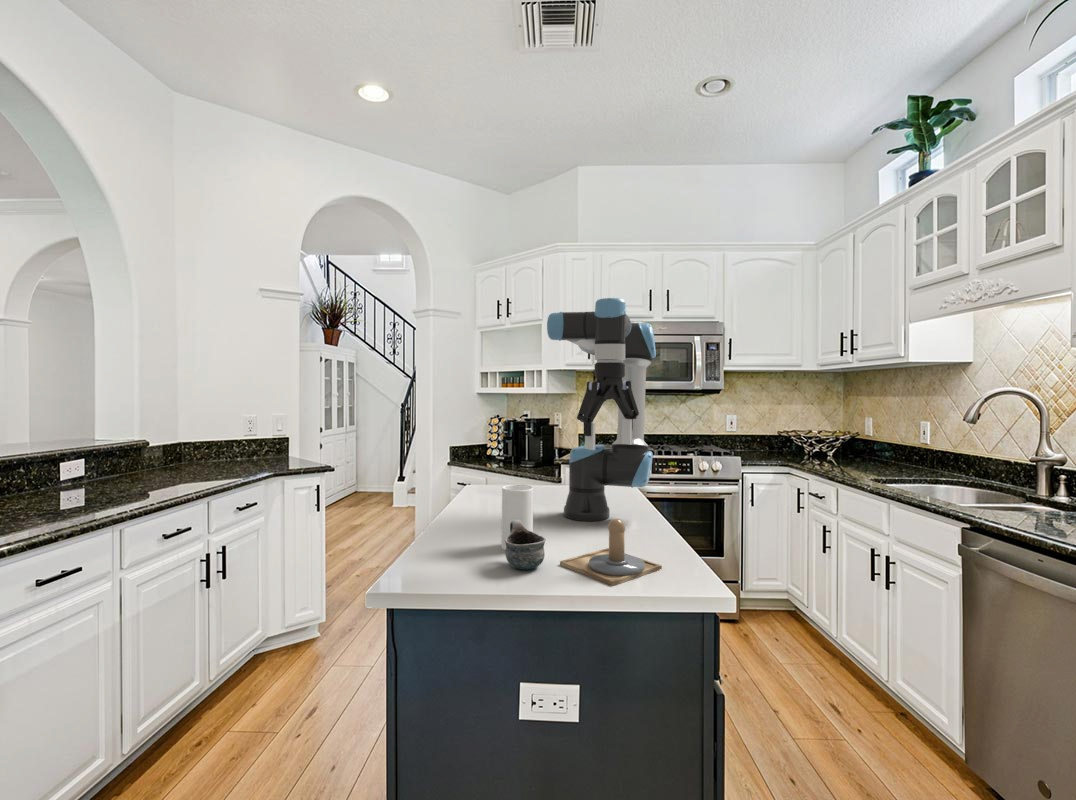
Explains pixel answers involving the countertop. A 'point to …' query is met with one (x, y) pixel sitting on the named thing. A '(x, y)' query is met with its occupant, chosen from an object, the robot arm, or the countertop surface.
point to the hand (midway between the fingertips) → (608, 446)
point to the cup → (516, 508)
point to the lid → (616, 555)
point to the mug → (524, 547)
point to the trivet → (583, 567)
